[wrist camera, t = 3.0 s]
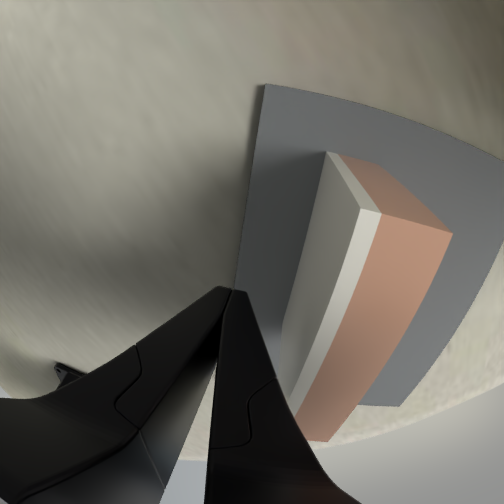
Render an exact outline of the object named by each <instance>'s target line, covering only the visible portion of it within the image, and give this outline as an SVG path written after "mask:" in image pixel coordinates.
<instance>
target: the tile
mask: <svg viewBox="0 0 504 504" xmlns="http://www.w3.org/2000/svg"><path fill="white" fill-rule="evenodd" d="M452 235H453V233H452V232H451V231H450V230H449V229H448V228H447V227H446V226H445V225H444V224H443V223H442V222H441V221H440V220H439V219H438V218H437V217H436V216H435V215H434V214H433V213H432V212H431V211H430V210H429V209H428V208H427V207H426V206H425V205H424V204H423V203H422V202H421V201H420V200H418V199H417V198H416V197H415V196H414V195H413V194H412V193H411V192H410V191H409V190H408V189H406V188H405V187H404V186H403V185H402V184H401V183H400V182H398V181H397V180H396V179H395V178H394V177H393V176H391V175H390V174H389V173H388V172H387V171H386V170H384V169H383V168H382V167H381V166H380V165H378V164H375V163H371V162H367V161H364V160H360V159H356V158H352V157H349V156H345V155H341V154H336V153H332V152H328V151H326V155H325V159H324V164H323V168H322V173H321V177H320V182H319V186H318V190H317V194H316V199H315V203H314V207H313V211H312V215H311V219H310V223H309V227H308V231H307V235H306V239H305V243H304V247H303V251H302V254H301V258H300V262H299V266H298V270H297V273H296V277H295V281H294V284H293V288H292V291H291V295H290V299H289V302H288V306H287V309H286V313H285V316H284V320H283V323H282V335H281V346H280V357H279V368H278V378H277V379H278V381H279V383H280V386H281V389H282V391H283V394H284V396H285V399H286V401H287V404H288V406H289V408H290V410H291V412H292V414H293V416H294V418H295V420H296V422H297V424H298V426H299V428H300V430H301V431H302V433H303V435H304V437H305V438H306V440H309V441H321V442H328V441H329V440H330V438H331V437H332V436H333V435H334V434H335V432H336V431H337V430H338V429H339V428H340V426H341V425H342V424H343V423H344V421H345V420H346V419H347V418H348V416H349V415H350V414H351V412H352V411H353V410H354V408H355V407H356V406H357V404H358V403H359V402H360V400H361V399H362V398H363V396H364V395H365V393H366V392H367V391H368V389H369V388H370V386H371V385H372V384H373V382H374V381H375V379H376V378H377V376H378V375H379V373H380V372H381V370H382V369H383V367H384V366H385V364H386V363H387V361H388V359H389V358H390V356H391V355H392V353H393V351H394V350H395V348H396V347H397V345H398V343H399V342H400V340H401V338H402V337H403V335H404V333H405V331H406V330H407V328H408V326H409V324H410V323H411V321H412V319H413V317H414V315H415V314H416V312H417V310H418V308H419V306H420V304H421V302H422V300H423V299H424V297H425V295H426V293H427V291H428V289H429V287H430V285H431V283H432V280H433V278H434V276H435V274H436V272H437V270H438V268H439V265H440V263H441V261H442V259H443V257H444V254H445V252H446V250H447V247H448V245H449V242H450V240H451V238H452Z"/></svg>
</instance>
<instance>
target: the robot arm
mask: <svg viewBox="0 0 504 504" xmlns="http://www.w3.org/2000/svg"><path fill="white" fill-rule="evenodd" d="M216 363H217V367H216V376H215V386H214V396H213V406H212V417H211V427H210V438H209V449H208V461H207V473H206V484H205V497H204V504H361V503H360V502H359V501H357V500H356V499H354V498H353V497H351V496H350V495H348V494H347V493H346V492H344V491H343V490H342V489H340V488H339V487H338V486H337V485H336V484H335V483H334V482H333V481H332V480H331V479H330V478H329V477H328V475H327V474H326V473H325V471H324V470H323V468H322V466H321V465H320V463H319V461H318V460H317V458H316V456H315V454H314V453H313V451H312V449H311V447H310V446H309V444H308V442H307V440H306V438H305V437H304V435H303V433H302V431H301V430H300V428H299V426H298V424H297V422H296V420H295V418H294V416H293V414H292V412H291V410H290V408H289V406H288V404H287V401H286V399H285V396H284V394H283V391H282V389H281V386H280V383H279V381H278V379H277V375H276V373H275V370H274V367H273V364H272V361H271V359H270V356H269V353H268V350H267V347H266V344H265V342H264V339H263V336H262V333H261V330H260V327H259V324H258V322H257V319H256V316H255V313H254V310H253V307H252V304H251V301H250V298H249V296H248V293H247V292H246V291H242V290H237V289H233V290H231V288H227V287H222V286H217V287H215V288H214V289H212V290H211V291H209V292H208V293H207V294H205V295H204V296H202V297H201V298H200V299H198V300H197V301H195V302H194V303H192V304H191V305H190V306H188V307H187V308H185V309H184V310H183V311H181V312H180V313H178V314H177V315H176V316H174V317H173V318H171V319H170V320H168V321H167V322H166V323H164V324H163V325H161V326H160V327H159V328H157V329H156V330H154V331H153V332H151V333H150V334H149V335H147V336H146V337H144V338H143V339H142V340H140V341H139V342H137V343H136V345H133V346H131V347H130V348H129V349H127V350H126V351H124V352H123V353H121V354H120V355H118V356H117V357H115V358H114V359H112V360H111V361H109V362H107V363H106V364H104V365H102V366H100V367H99V368H97V369H95V370H93V371H92V372H90V373H88V374H86V375H83V374H80V373H78V372H76V371H74V370H71V369H69V368H67V367H65V366H63V365H61V364H58V363H57V364H56V365H55V367H54V369H55V371H56V373H57V375H58V377H59V379H60V381H61V383H60V384H59V386H58V387H57V389H56V390H55V391H53V392H51V393H49V394H47V395H44V396H41V397H37V398H31V399H13V398H0V504H159V503H160V500H161V498H162V495H163V493H164V489H165V488H166V485H167V483H168V481H169V479H170V476H171V474H172V471H173V469H174V466H175V464H176V462H177V459H178V457H179V454H180V452H181V450H182V447H183V445H184V442H185V440H186V437H187V435H188V433H189V430H190V428H191V425H192V423H193V420H194V418H195V415H196V413H197V411H198V408H199V406H200V403H201V401H202V398H203V396H204V393H205V391H206V388H207V386H208V384H209V381H210V379H211V376H212V374H213V371H214V369H215V366H216Z"/></svg>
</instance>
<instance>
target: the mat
mask: <svg viewBox="0 0 504 504" xmlns="http://www.w3.org/2000/svg"><path fill="white" fill-rule="evenodd" d="M326 151H328V152H332V153H336V154H341V155H345V156H349V157H352V158H356V159H360V160H364V161H367V162H371V163H375V164H378V165H380V166H381V167H382V168H383V169H384V170H386V171H387V172H388V173H389V174H390V175H391V176H393V177H394V178H395V179H396V180H397V181H398V182H400V183H401V184H402V185H403V186H404V187H405V188H406V189H408V190H409V191H410V192H411V193H412V194H413V195H414V196H415V197H416V198H417V199H418V200H420V201H421V202H422V203H423V204H424V205H425V206H426V207H427V208H428V209H429V210H430V211H431V212H432V213H433V214H434V215H435V216H436V217H437V218H438V219H439V220H440V221H441V222H442V223H443V224H444V225H445V226H446V227H447V228H448V229H449V230H450V231H451V232H452V233H453V235H452V238H451V240H450V242H449V245H448V247H447V250H446V252H445V254H444V257H443V259H442V261H441V263H440V265H439V268H438V270H437V272H436V274H435V276H434V278H433V280H432V283H431V285H430V287H429V289H428V291H427V293H426V295H425V297H424V299H423V300H422V302H421V304H420V306H419V308H418V310H417V312H416V314H415V315H414V317H413V319H412V321H411V323H410V324H409V326H408V328H407V330H406V331H405V333H404V335H403V337H402V338H401V340H400V342H399V343H398V345H397V347H396V348H395V350H394V351H393V353H392V355H391V356H390V358H389V359H388V361H387V363H386V364H385V366H384V367H383V369H382V370H381V372H380V373H379V375H378V376H377V378H376V379H375V381H374V382H373V384H372V385H371V386H370V388H369V389H368V391H367V392H366V393H365V395H364V396H363V398H362V399H361V400H360V402H359V403H358V404H357V405H370V406H397V407H399V406H400V405H401V404H402V403H403V402H404V400H405V399H406V398H407V397H408V396H409V394H410V393H411V392H412V391H413V390H414V388H415V387H416V386H417V385H418V383H419V382H420V381H421V380H422V378H423V377H424V376H425V374H426V373H427V372H428V370H429V369H430V368H431V366H432V365H433V364H434V362H435V361H436V359H437V358H438V357H439V355H440V354H441V352H442V351H443V349H444V348H445V347H446V345H447V344H448V342H449V341H450V339H451V338H452V336H453V334H454V333H455V331H456V330H457V328H458V327H459V325H460V323H461V322H462V320H463V319H464V317H465V315H466V314H467V312H468V310H469V308H470V307H471V305H472V303H473V301H474V300H475V298H476V296H477V294H478V292H479V290H480V289H481V287H482V285H483V283H484V281H485V279H486V277H487V275H488V273H489V271H490V269H491V267H492V265H493V263H494V261H495V258H496V256H497V254H498V252H499V249H500V247H501V245H502V243H503V240H504V162H503V161H501V160H499V159H498V158H496V157H494V156H492V155H490V154H488V153H486V152H484V151H482V150H480V149H478V148H476V147H474V146H472V145H470V144H468V143H465V142H463V141H461V140H459V139H457V138H454V137H452V136H450V135H447V134H445V133H443V132H440V131H438V130H435V129H433V128H430V127H428V126H425V125H423V124H420V123H417V122H415V121H412V120H409V119H406V118H403V117H400V116H398V115H395V114H392V113H389V112H385V111H382V110H379V109H376V108H373V107H369V106H366V105H362V104H359V103H355V102H351V101H348V100H344V99H340V98H336V97H332V96H328V95H323V94H319V93H314V92H310V91H305V90H300V89H295V88H289V87H284V86H278V85H272V84H266V85H265V91H264V97H263V103H262V109H261V115H260V121H259V127H258V133H257V140H256V146H255V152H254V158H253V165H252V171H251V177H250V184H249V190H248V197H247V203H246V210H245V216H244V223H243V229H242V236H241V243H240V249H239V256H238V263H237V270H236V276H235V283H234V289H237V290H242V291H246V292H247V293H248V296H249V298H250V301H251V304H252V307H253V310H254V313H255V316H256V319H257V322H258V324H259V327H260V330H261V333H262V336H263V339H264V342H265V344H266V347H267V350H268V353H269V356H270V359H271V361H272V364H273V367H274V370H275V373H276V375H277V378H278V368H279V357H280V346H281V335H282V323H283V320H284V316H285V313H286V309H287V306H288V302H289V299H290V295H291V291H292V288H293V284H294V281H295V277H296V273H297V270H298V266H299V262H300V258H301V254H302V251H303V247H304V243H305V239H306V235H307V231H308V227H309V223H310V219H311V215H312V211H313V207H314V203H315V199H316V194H317V190H318V186H319V182H320V177H321V173H322V168H323V164H324V159H325V155H326Z"/></svg>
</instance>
